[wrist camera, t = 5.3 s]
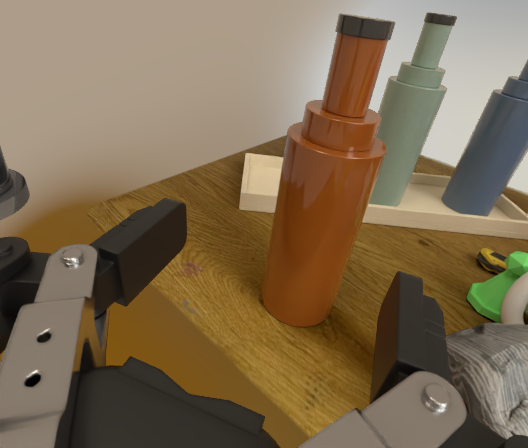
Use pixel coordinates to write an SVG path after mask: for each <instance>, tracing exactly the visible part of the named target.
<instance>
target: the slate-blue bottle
mask: <svg viewBox="0 0 528 448" xmlns="http://www.w3.org/2000/svg"><path fill="white" fill-rule="evenodd" d="M527 151H528V60H527V62H526V64H525V66H524V68H523V70H522V72H521V74H520V76H519V77H513V76H510V77H508V79H507V81H506V83H505V85H504V87H503V89H502V90H493V92H492V94H491V96H490V98H489V100H488V102H487V104H486V106H485V108H484V111H483V113H482V115H481V117H480V119H479V121H478V123H477V125H476V127H475V129H474V131H473V133H472V135H471V138H470V139H469V141H468V143H467V145H466V148H465V150H464V152H463V154H462V156H461V158H460V160H459V162H458V164H457V166H456V168H455V170H454V172H453V174H452V176H451V178H450V180H449V182H448V185H447V187H446V189H445V191H444V193H443V195H442V197H441V200H442V202H443V203H444V204H445V205H446V206H447V207H449V208H450V209H452V210H454V211H456V212H458V213H460V214H467V215H477V216H486V217H488V216H489V215H490V213H491V211H492V210H493V208H494V206H495V205H496V203H497V201H498V200H499V198H500V196H501V195H502V193H503V191H504V190H505V188H506V186H507V185H508V183H509V181H510V179H511V178H512V176H513V175H514V173H515V171H516V170H517V168H518V166H519V164H520V163H521V161H522V160H523V158H524V156H525V155H526V153H527Z"/></svg>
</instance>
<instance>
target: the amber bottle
mask: <svg viewBox="0 0 528 448" xmlns="http://www.w3.org/2000/svg"><path fill="white" fill-rule="evenodd" d="M394 25H395V22H394V21H388V20H383V19H375V18H370V17H363V16H356V15H348V14H339V16H338V22H337V26H336V32H337V36H336V40H335V45H334V50H333V55H332V59H331V64H330V68H329V73H328V78H327V82H326V87H325V92H324V96H323V100H314V101H310V102H308V103H307V104H306V107H305V112H304V117H303V122H299V123H296V124H293V125H292V126H290V127H289V129H288V132H287V138H286V144H285V150H284V156H283V162H282V168H281V174H280V181H279V187H278V193H277V199H276V205H275V211H274V217H273V223H272V230H271V236H270V242H269V248H268V254H267V260H266V266H265V272H264V279H263V285H262V291H261V298H262V302H263V304H264V306H265V308H266V309H267V311H268V312H269V313H270V314H271V315H272V316H273V317H275V318H276V319H278V320H279V321H281V322H283V323H285V324H288V325H292V326H297V327H309V326H314V325H317V324H319V323H321V322H323V321H324V320H325V319H326V318H327V317H328V316H329V314H330V312H331V310H332V307H333V304H334V301H335V298H336V296H337V293H338V290H339V287H340V284H341V281H342V278H343V275H344V272H345V270H346V267H347V264H348V261H349V258H350V255H351V252H352V249H353V247H354V244H355V241H356V238H357V235H358V232H359V229H360V226H361V224H362V221H363V218H364V215H365V212H366V209H367V206H368V203H369V200H370V198H371V195H372V192H373V189H374V186H375V183H376V180H377V177H378V175H379V172H380V169H381V166H382V163H383V160H384V157H385V154H386V152H387V147H386V145H385V143H384V142H383V141H382V140H380V139H379V138H378V137H376V136H377V133H378V130H379V127H380V124H381V121H382V117H381V116H380V115H379V114H378V113H376V112H375V111H373V110H371V109H368V107H369V104H370V100H371V97H372V93H373V90H374V87H375V83H376V80H377V76H378V73H379V69H380V66H381V62H382V59H383V56H384V52H385V49H386V45H387V42H388V40H390V39H391V36H392V32H393V29H394Z"/></svg>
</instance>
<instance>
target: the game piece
mask: <svg viewBox="0 0 528 448" xmlns="http://www.w3.org/2000/svg"><path fill="white" fill-rule="evenodd" d="M505 263H506V267H507V270H506V271H504V272H502V273H500V274H498V275H496V276H494V277H493V278H491V279H489V280H487V281H485V282H483V283H473V284H472V286H471V288H470V289H469V292H468V295H467V298H466V299H467V300H468V301H469V302H470V303H471V305H472V306H473V307H474V308H475V309H476V311H477V312H478V313H480V314H482V315H484V316H486V317H488V318H490V319H492V320H494V321H496V322H498V323H501V316H500V312H501V305H502V302H503V299H504V297H505V295H506V293H507V291H508V290H509V288H510V287H511V286H512V284H513V283H514V282H515V281H516V280H517V279H518V278H520V277H521V276H522V275H524V274H525V273H527V272H528V253H525V252H520V251H516V252H514V253H512V254H510V255H509V256H508V257H507V258H506V259H505Z"/></svg>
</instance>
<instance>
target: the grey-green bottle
mask: <svg viewBox="0 0 528 448" xmlns="http://www.w3.org/2000/svg"><path fill="white" fill-rule="evenodd" d="M456 19H457V17H456V16H450V15H444V14H436V13H427V14H426V17H425V19H424V22H425V23H424V26H423V29H422V32H421V35H420V37H419V41H418V43H417V46H416V49H415V53H414V55H413V59H412V61H411V62H402V64H401V67H400V70H399V73H398V76H391V77H389V79H388V83H387V86H386V89H385V92H384V95H383V98H382V102H381V105H380V108H379V111H378V114H379V115H380V116H381V117H382V121H381V124H380V127H379V130H378V133H377V136H376V137H378V138H379V139H380V140H382V141H383V142H384V143H385V145H386V147H387V152H386V154H385V157H384V160H383V163H382V166H381V169H380V172H379V175H378V177H377V180H376V183H375V186H374V189H373V192H372V195H371V198H370V200H369V203H368V204H375V205H384V206H394V207H397V206H398V205H399V204H400V203H401V200H402V198H403V195H404V193H405V190H406V188H407V186H408V183H409V181H410V178H411V176H412V173H413V171H414V169H415V166H416V164H417V161H418V159H419V156H420V154H421V151H422V149H423V146H424V144H425V142H426V139H427V137H428V134H429V132H430V129H431V127H432V125H433V122H434V120H435V117H436V115H437V112H438V110H439V107H440V105H441V103H442V100H443V98H444V95H445V93H446V91H447V88H446V87H445V86H443V85H440V84H441V81H442V78H443V76H444V74H445V70H444V69H442V68H439V67H437V66H438V63H439V61H440V58H441V55H442V53H443V50H444V47H445V45H446V42H447V40H448V37H449V34H450V32H451V29H452V26H454V24H455V22H456Z"/></svg>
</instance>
